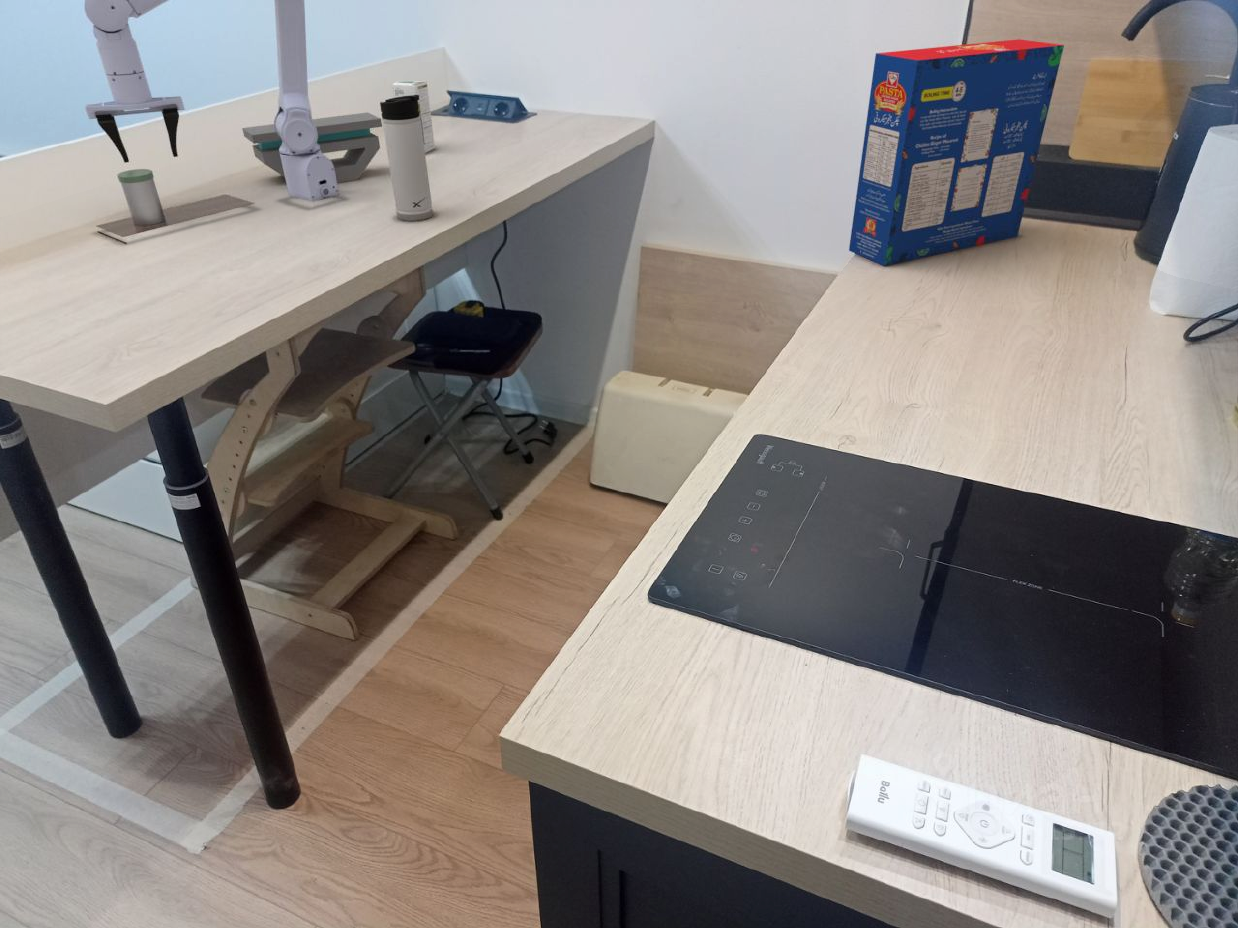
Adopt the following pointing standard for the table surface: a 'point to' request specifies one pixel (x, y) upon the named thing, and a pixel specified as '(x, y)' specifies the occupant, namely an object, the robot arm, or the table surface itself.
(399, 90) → the syrup box
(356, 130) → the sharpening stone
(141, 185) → the tin
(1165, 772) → the table surface
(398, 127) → the travel mug
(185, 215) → the board
